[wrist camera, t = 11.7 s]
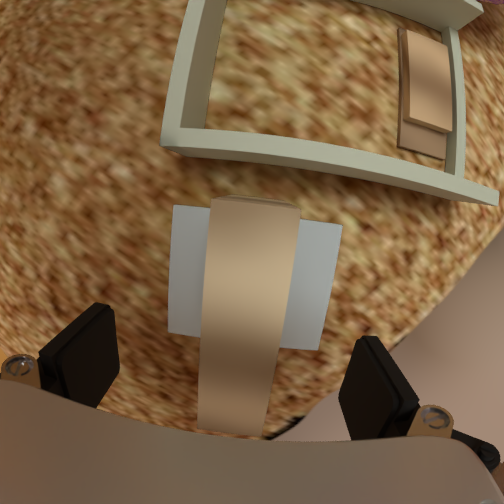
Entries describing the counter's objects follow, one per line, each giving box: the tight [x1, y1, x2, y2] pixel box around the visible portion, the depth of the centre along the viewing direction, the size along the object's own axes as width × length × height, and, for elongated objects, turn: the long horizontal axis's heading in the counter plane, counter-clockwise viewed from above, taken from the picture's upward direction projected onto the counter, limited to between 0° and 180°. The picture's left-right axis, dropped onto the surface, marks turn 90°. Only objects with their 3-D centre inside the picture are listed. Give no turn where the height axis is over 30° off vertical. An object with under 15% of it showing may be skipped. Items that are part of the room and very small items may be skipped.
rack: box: [159, 0, 499, 206], centre depth 15 cm, size 17×21×6 cm
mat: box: [168, 205, 343, 350], centre depth 22 cm, size 10×12×1 cm
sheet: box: [197, 195, 301, 437], centre depth 17 cm, size 12×4×9 cm, turn 173°
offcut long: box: [397, 28, 446, 160], centre depth 18 cm, size 11×4×1 cm, turn 173°
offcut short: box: [401, 30, 452, 133], centre depth 17 cm, size 8×4×1 cm, turn 174°
